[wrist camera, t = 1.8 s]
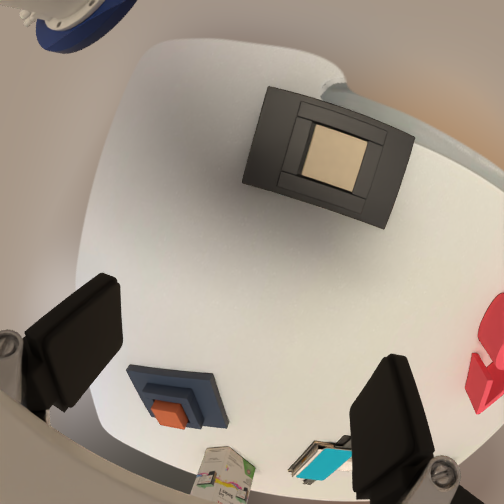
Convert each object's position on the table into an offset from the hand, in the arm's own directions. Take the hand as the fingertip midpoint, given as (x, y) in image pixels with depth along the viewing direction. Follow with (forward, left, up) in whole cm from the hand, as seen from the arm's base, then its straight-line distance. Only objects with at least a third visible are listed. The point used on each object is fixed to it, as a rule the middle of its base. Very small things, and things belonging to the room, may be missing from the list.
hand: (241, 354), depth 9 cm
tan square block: (+5, +5, -14) cm, 15 cm away
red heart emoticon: (+25, -17, -16) cm, 34 cm away
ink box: (-12, -39, -16) cm, 44 cm away
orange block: (-16, -22, -13) cm, 30 cm away
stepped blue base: (-16, -22, -16) cm, 31 cm away
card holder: (+5, -39, -16) cm, 42 cm away
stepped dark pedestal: (+4, +5, -16) cm, 17 cm away
